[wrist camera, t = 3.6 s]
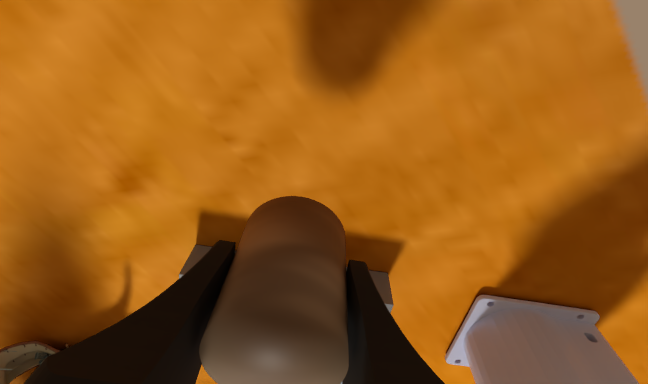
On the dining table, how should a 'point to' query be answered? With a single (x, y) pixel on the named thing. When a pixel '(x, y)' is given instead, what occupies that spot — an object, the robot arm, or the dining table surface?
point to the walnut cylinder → (282, 300)
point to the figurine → (22, 358)
